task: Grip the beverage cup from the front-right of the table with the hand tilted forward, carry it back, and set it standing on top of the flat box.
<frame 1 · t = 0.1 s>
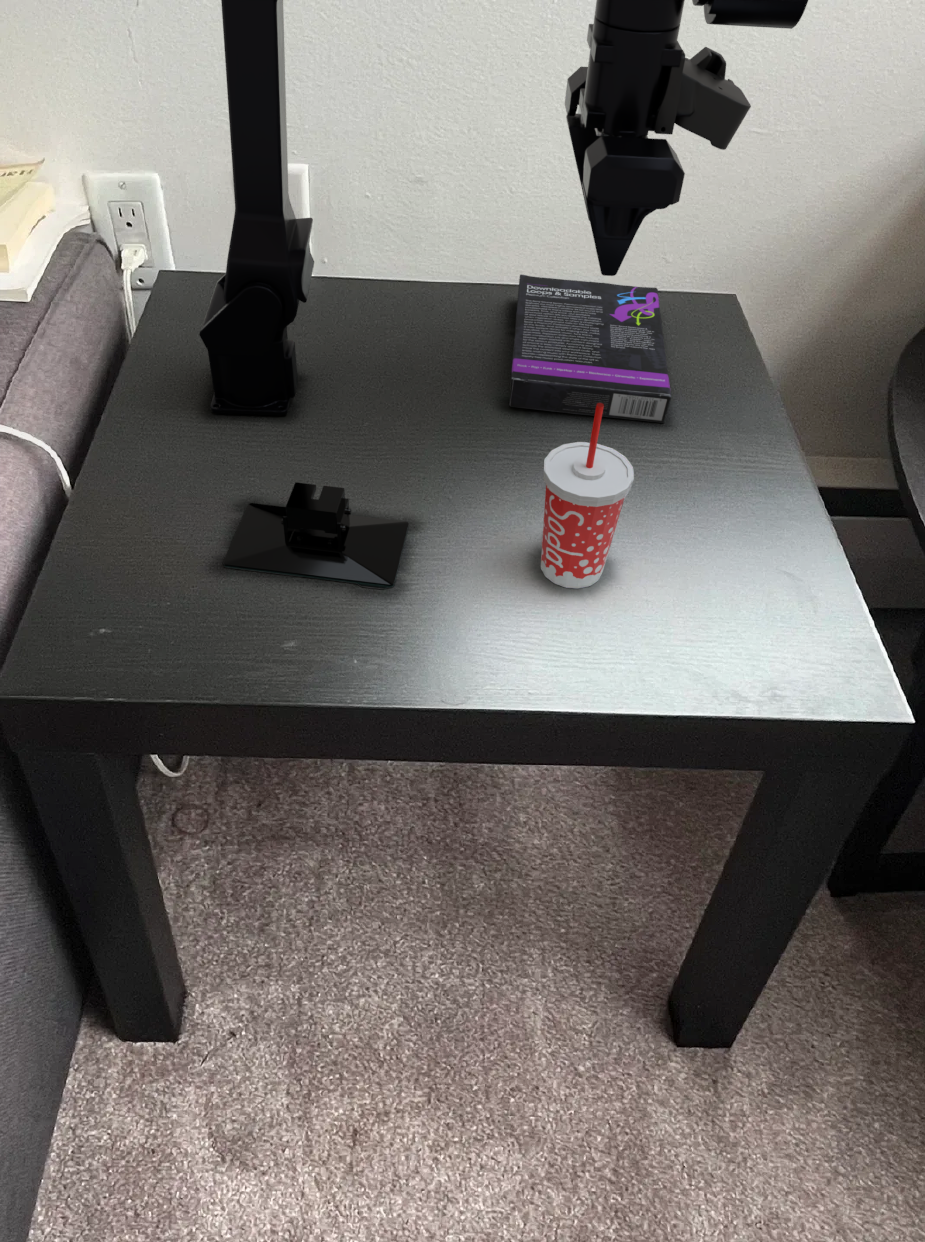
hand: (601, 247, 76), 15 cm above the table, tool pointing down, fingers open, 9 cm apart
box: (585, 361, 93), on the table
beverage cup: (571, 568, 72), on the table
build plate: (318, 547, 73), on the table
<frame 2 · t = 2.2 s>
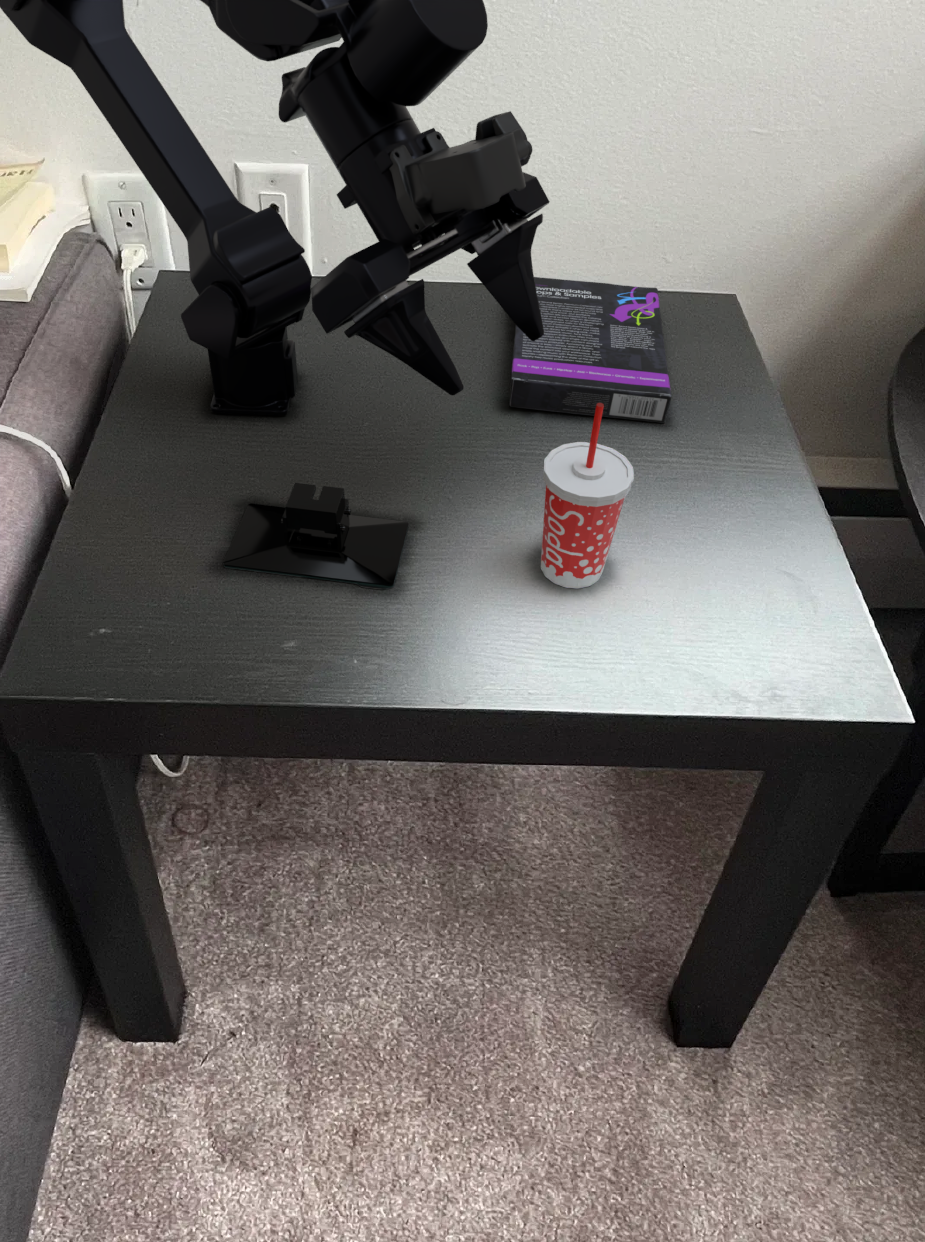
hand: (500, 364, 66), 13 cm above the table, tool tilted 45°, fingers open, 9 cm apart
nothing on the table moved.
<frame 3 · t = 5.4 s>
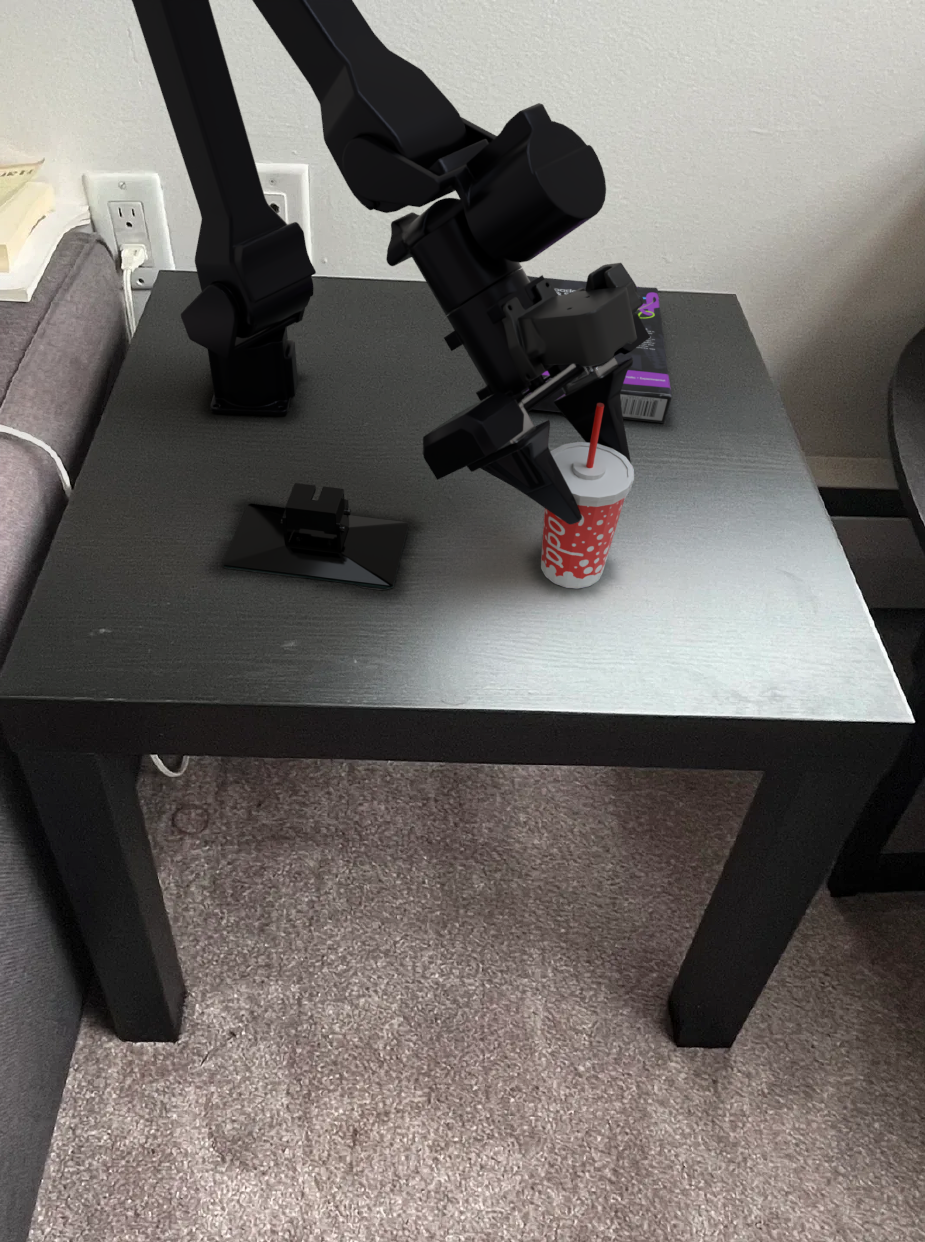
hand: (601, 499, 67), 7 cm above the table, tool tilted 45°, fingers closed on beverage cup, 6 cm apart
beverage cup: (571, 568, 72), on the table, touching gripper
everything else where it was.
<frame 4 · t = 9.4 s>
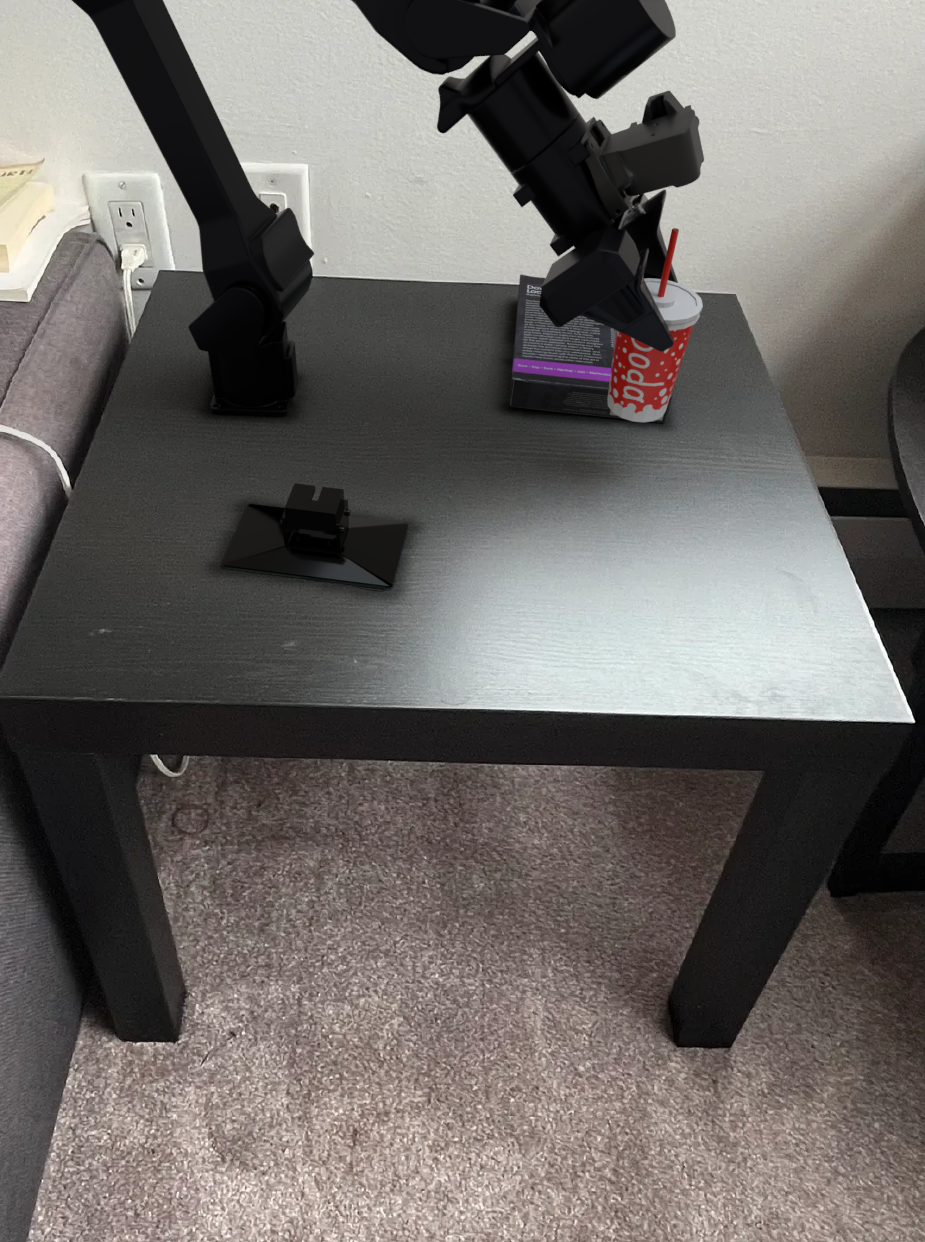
hand: (673, 326, 71), 13 cm above the table, tool tilted 45°, fingers closed on beverage cup, 6 cm apart
beverage cup: (635, 407, 77), point 6 cm above the table, touching gripper
everything else where it was.
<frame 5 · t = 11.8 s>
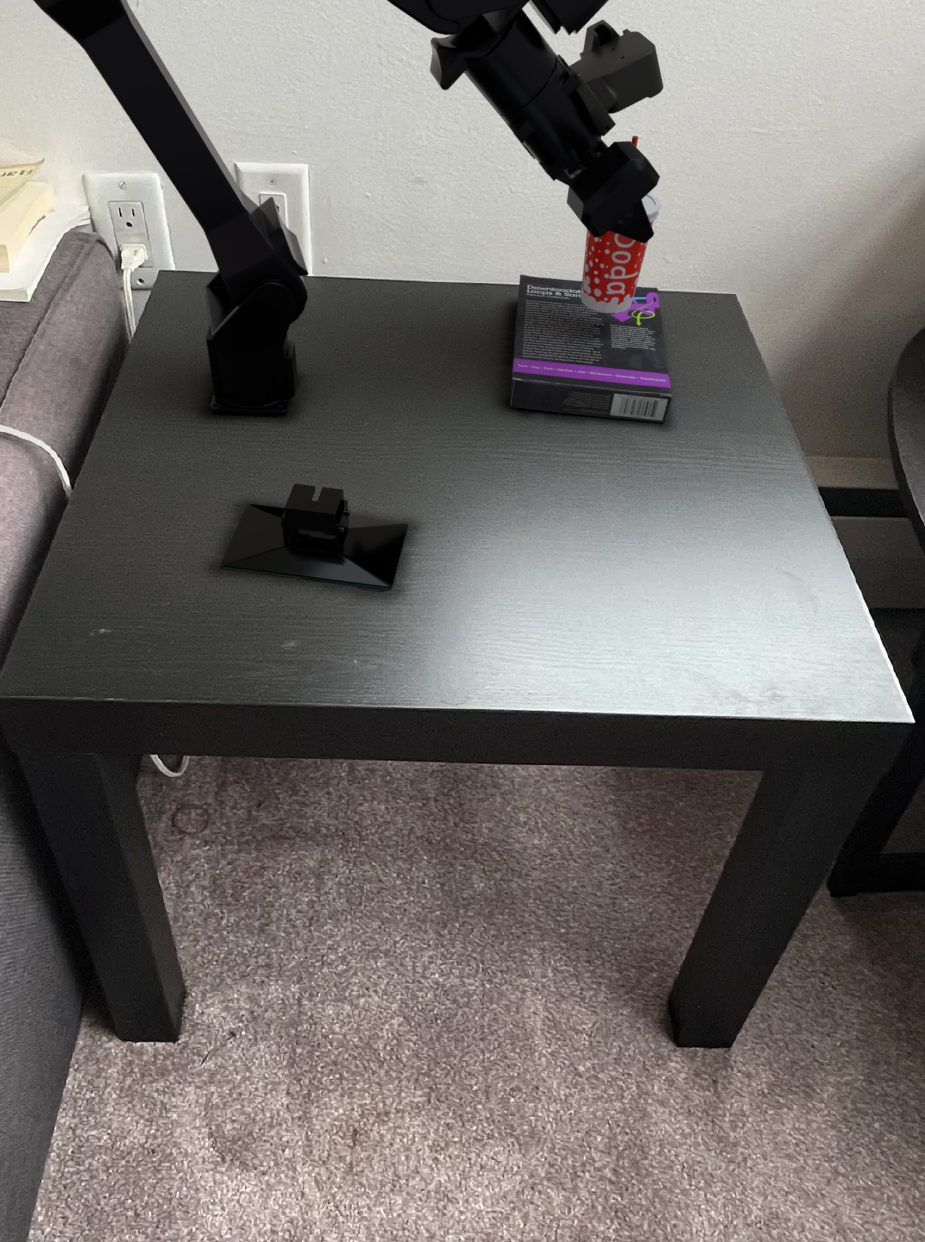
hand: (634, 222, 83), 13 cm above the table, tool tilted 45°, fingers closed on beverage cup, 6 cm apart
beverage cup: (605, 302, 88), point 6 cm above the table, touching gripper
everything else where it was.
when the fingers open (10 cm above the table, at t = 13.5 s): beverage cup stays where it is, resting on box.
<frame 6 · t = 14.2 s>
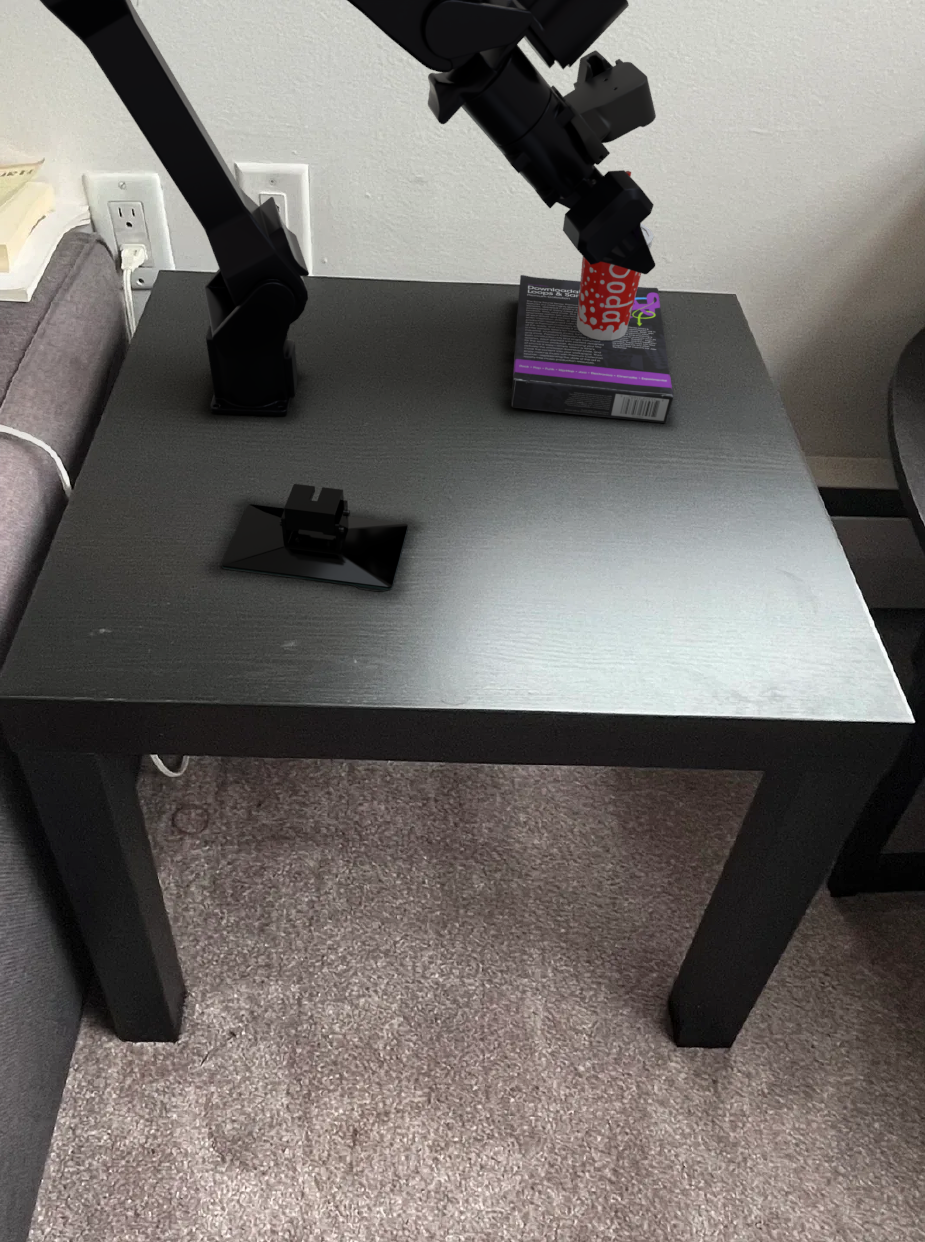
hand: (629, 244, 85), 11 cm above the table, tool tilted 45°, fingers open, 9 cm apart
box: (586, 361, 93), on the table, touching beverage cup
beverage cup: (601, 329, 90), point 3 cm above the table, touching box
everything else where it was.
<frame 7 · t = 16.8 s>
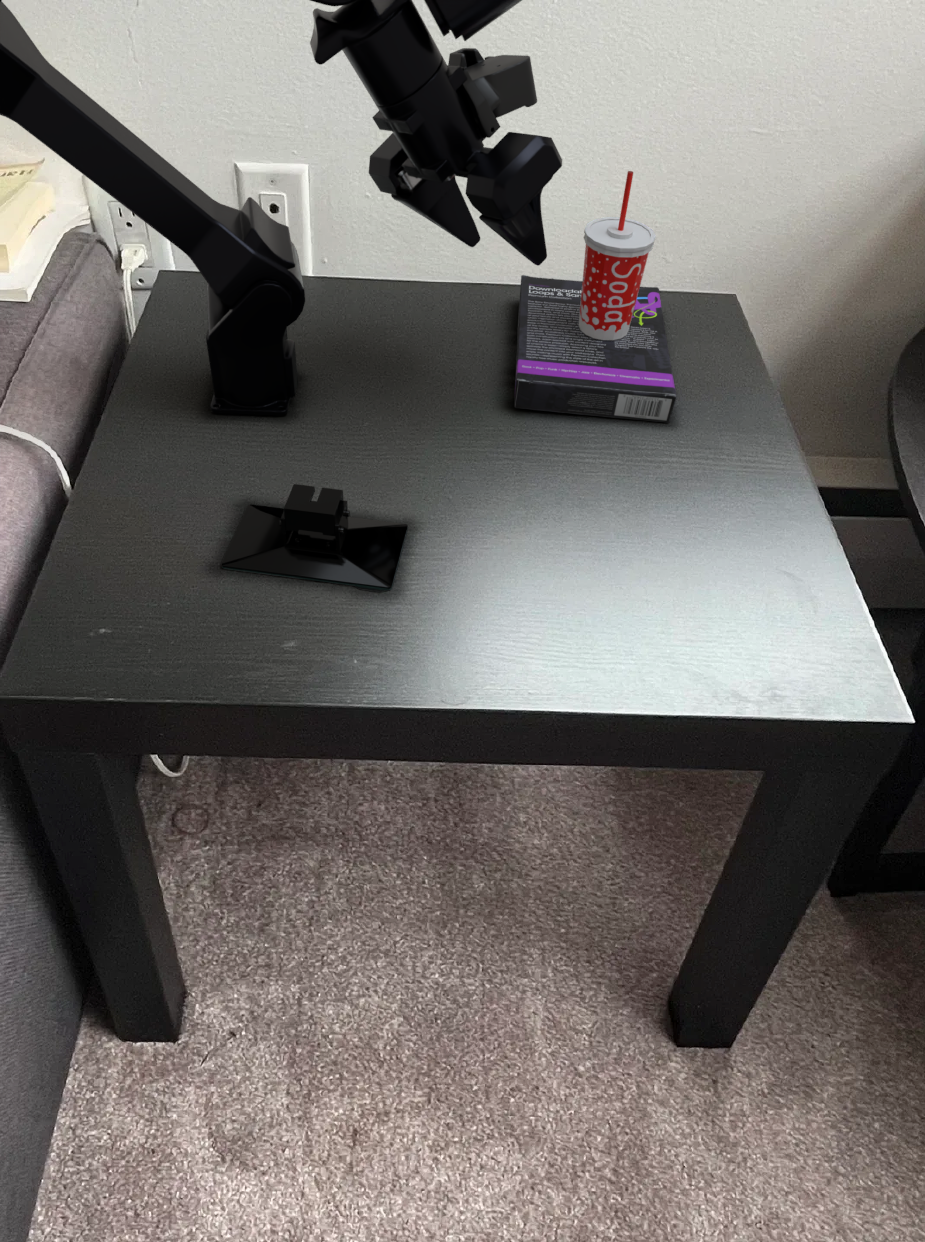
hand: (507, 252, 81), 12 cm above the table, tool tilted 35°, fingers open, 9 cm apart
nothing on the table moved.
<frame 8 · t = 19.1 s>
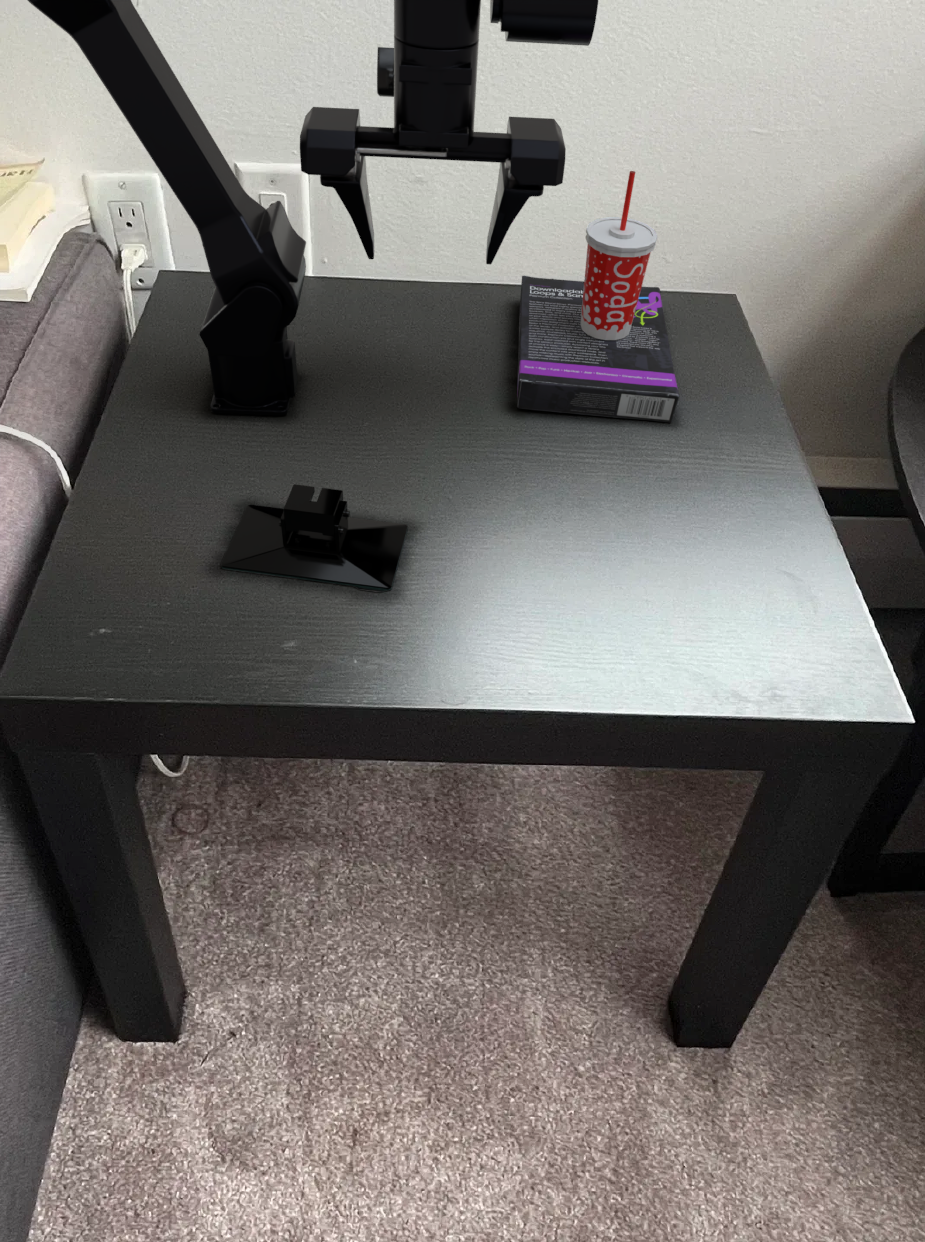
hand: (430, 259, 77), 13 cm above the table, tool pointing down, fingers open, 9 cm apart
nothing on the table moved.
at the end: beverage cup inside the target area on the box (0.9 cm from its centre), point 3.3 cm above the box's base; beverage cup tilted 0°; the gripper is holding nothing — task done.
